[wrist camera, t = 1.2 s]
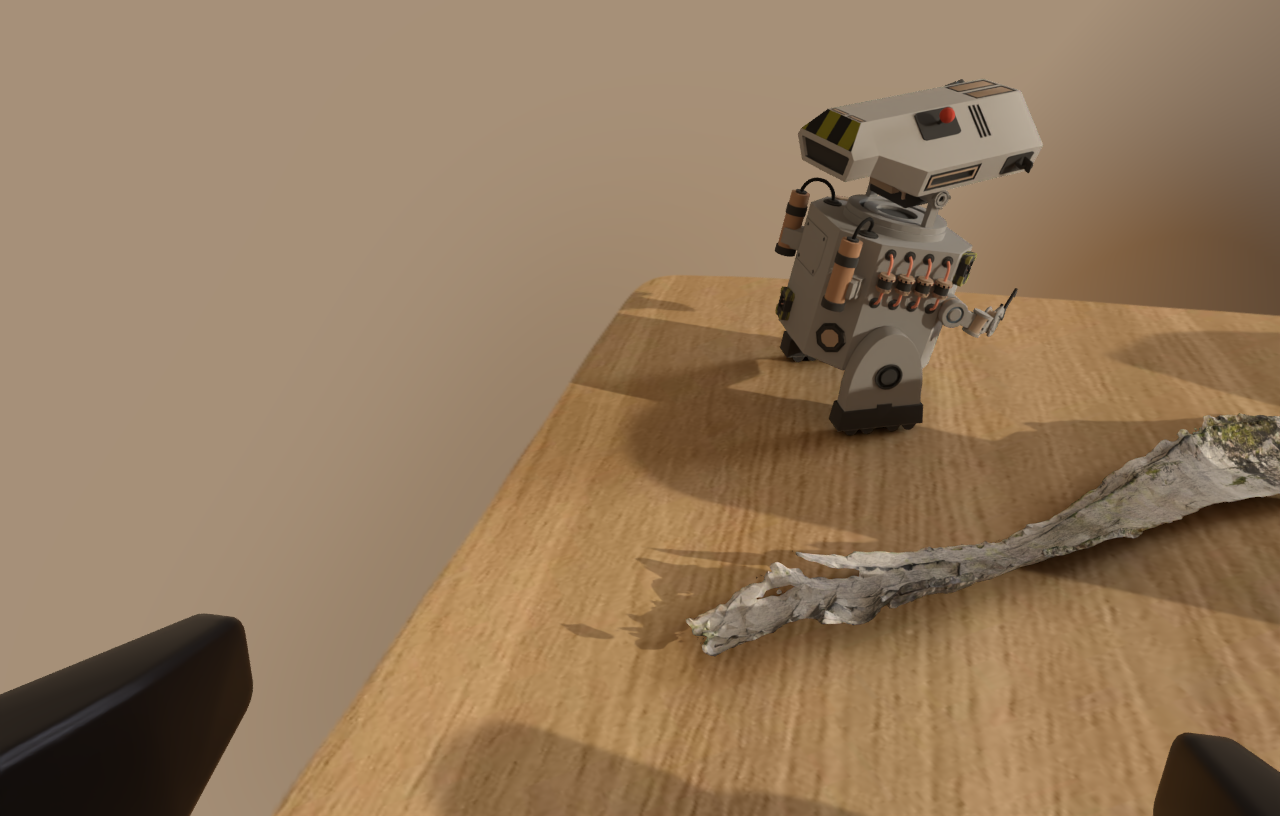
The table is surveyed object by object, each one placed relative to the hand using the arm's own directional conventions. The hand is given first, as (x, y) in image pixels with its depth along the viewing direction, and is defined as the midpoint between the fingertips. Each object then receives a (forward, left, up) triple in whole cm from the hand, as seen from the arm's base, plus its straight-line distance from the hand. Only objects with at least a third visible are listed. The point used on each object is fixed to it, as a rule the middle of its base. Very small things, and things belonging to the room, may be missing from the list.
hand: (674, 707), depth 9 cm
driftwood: (+21, -21, -17) cm, 34 cm away
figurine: (+34, -16, -17) cm, 41 cm away
